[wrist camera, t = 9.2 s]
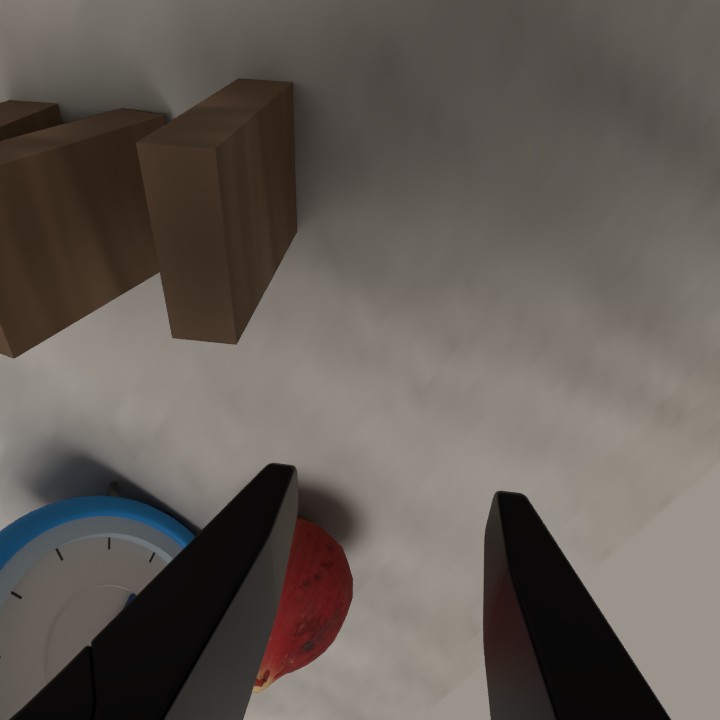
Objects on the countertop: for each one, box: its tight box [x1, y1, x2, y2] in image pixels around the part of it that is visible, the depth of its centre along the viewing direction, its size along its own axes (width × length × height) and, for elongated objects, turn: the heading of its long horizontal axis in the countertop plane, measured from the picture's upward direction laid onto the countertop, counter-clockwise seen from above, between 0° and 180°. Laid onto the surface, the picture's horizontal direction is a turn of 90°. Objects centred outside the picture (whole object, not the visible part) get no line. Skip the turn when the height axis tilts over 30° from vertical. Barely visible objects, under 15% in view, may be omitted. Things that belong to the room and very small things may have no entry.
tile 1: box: [136, 79, 297, 345], centre depth 15 cm, size 2×5×7 cm, turn 178°
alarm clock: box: [0, 482, 195, 720], centre depth 24 cm, size 13×6×15 cm, turn 42°
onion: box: [252, 516, 353, 693], centre depth 25 cm, size 6×6×8 cm
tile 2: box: [0, 108, 165, 358], centre depth 16 cm, size 2×5×7 cm, turn 178°
